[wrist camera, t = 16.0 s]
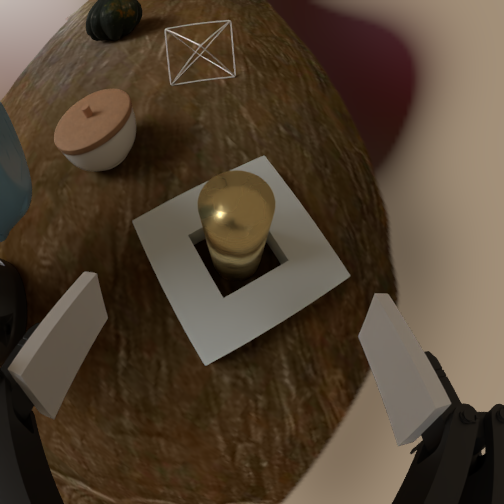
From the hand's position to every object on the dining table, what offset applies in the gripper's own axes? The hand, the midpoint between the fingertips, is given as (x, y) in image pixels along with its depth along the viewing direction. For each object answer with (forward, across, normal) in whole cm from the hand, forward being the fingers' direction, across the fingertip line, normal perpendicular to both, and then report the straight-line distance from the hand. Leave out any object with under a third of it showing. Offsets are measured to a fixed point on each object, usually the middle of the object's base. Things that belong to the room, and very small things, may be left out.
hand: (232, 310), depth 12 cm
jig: (+16, 0, -6) cm, 17 cm away
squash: (+56, -36, +34) cm, 75 cm away
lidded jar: (+26, -19, +4) cm, 32 cm away
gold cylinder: (+16, 0, -6) cm, 17 cm away
